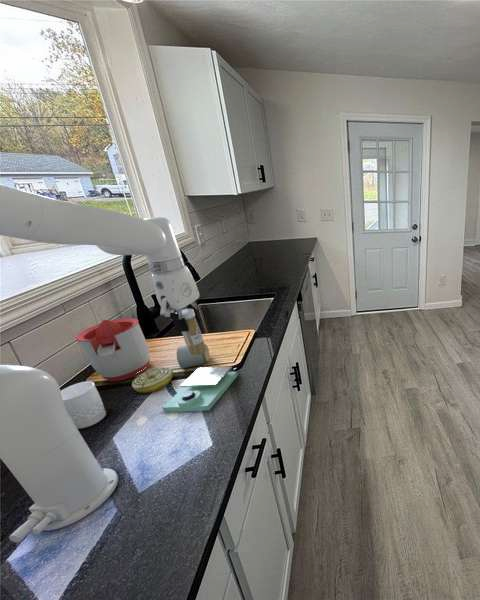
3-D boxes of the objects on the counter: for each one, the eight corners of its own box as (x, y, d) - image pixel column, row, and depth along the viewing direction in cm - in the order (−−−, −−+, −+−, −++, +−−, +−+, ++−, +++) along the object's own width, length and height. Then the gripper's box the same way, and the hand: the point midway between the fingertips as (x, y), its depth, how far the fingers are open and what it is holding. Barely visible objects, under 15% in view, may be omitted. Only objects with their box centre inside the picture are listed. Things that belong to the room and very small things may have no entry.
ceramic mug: (208, 366, 108) (201, 346, 105) (181, 372, 105) (173, 353, 102) (212, 352, 117) (206, 333, 114) (187, 357, 114) (181, 339, 111)
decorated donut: (167, 370, 107) (163, 361, 105) (180, 380, 101) (176, 371, 99) (130, 387, 99) (125, 377, 98) (142, 399, 93) (137, 389, 92)
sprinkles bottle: (206, 353, 92) (191, 312, 87) (188, 357, 90) (172, 316, 85) (208, 346, 96) (194, 306, 91) (191, 350, 94) (176, 310, 89)
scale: (208, 411, 87) (205, 402, 86) (163, 412, 87) (159, 404, 86) (237, 375, 102) (235, 367, 101) (199, 377, 102) (196, 369, 101)
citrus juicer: (90, 395, 97) (59, 339, 89) (106, 368, 111) (80, 317, 103) (151, 378, 103) (128, 324, 96) (159, 354, 118) (139, 305, 110)
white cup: (86, 432, 82) (68, 402, 78) (63, 429, 84) (44, 399, 80) (116, 411, 89) (101, 382, 85) (95, 408, 91) (79, 380, 87)
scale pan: (216, 385, 92) (216, 384, 92) (180, 387, 93) (180, 385, 92) (232, 368, 101) (231, 366, 100) (199, 369, 101) (198, 367, 101)
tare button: (190, 400, 87) (189, 396, 87) (181, 401, 87) (180, 397, 87) (196, 394, 90) (195, 390, 89) (187, 394, 90) (186, 391, 89)
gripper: (157, 274, 75) (182, 341, 82) (200, 256, 91) (218, 313, 98) (127, 276, 75) (155, 342, 82) (175, 258, 91) (195, 314, 98)
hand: (189, 326), depth 90 cm, fingers closed on sprinkles bottle, 4 cm apart
